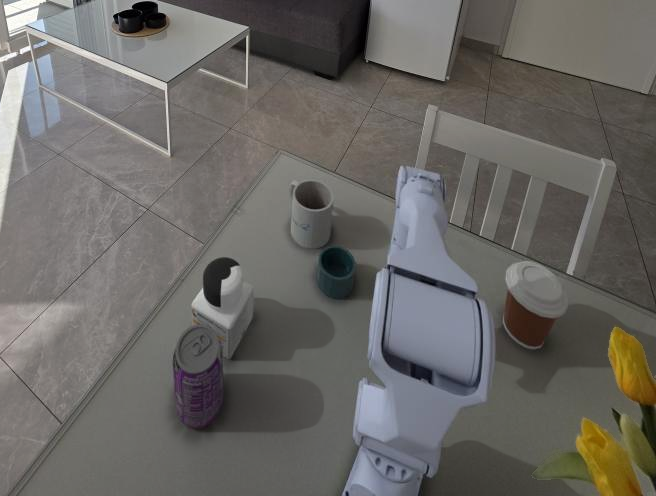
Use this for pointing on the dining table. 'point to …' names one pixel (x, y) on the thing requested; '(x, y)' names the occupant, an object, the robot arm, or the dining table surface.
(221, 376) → the beverage can
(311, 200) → the mug
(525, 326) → the coffee cup
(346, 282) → the dark teal cup
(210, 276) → the container
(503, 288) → the dining table surface
